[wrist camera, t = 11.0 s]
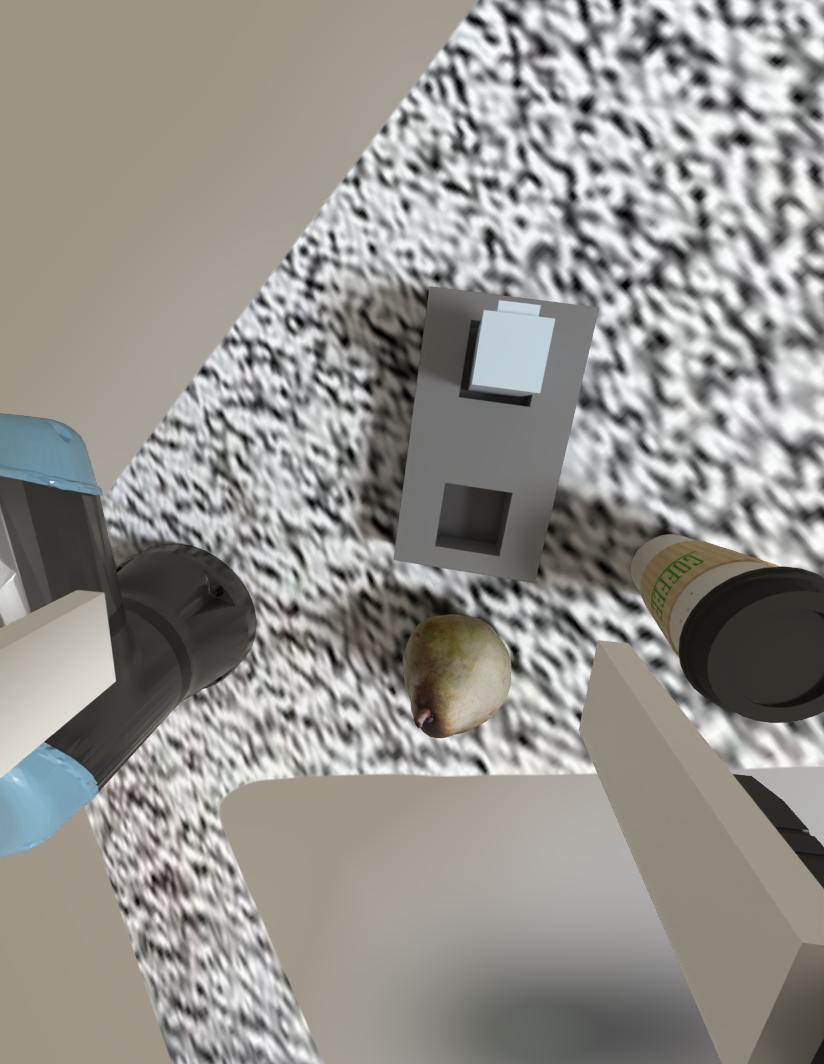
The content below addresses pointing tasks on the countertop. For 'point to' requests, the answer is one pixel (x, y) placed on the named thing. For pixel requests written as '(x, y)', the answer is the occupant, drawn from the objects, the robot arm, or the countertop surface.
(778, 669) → the coffee cup
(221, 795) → the countertop surface
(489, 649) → the fruit
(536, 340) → the plug
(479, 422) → the socket panel
